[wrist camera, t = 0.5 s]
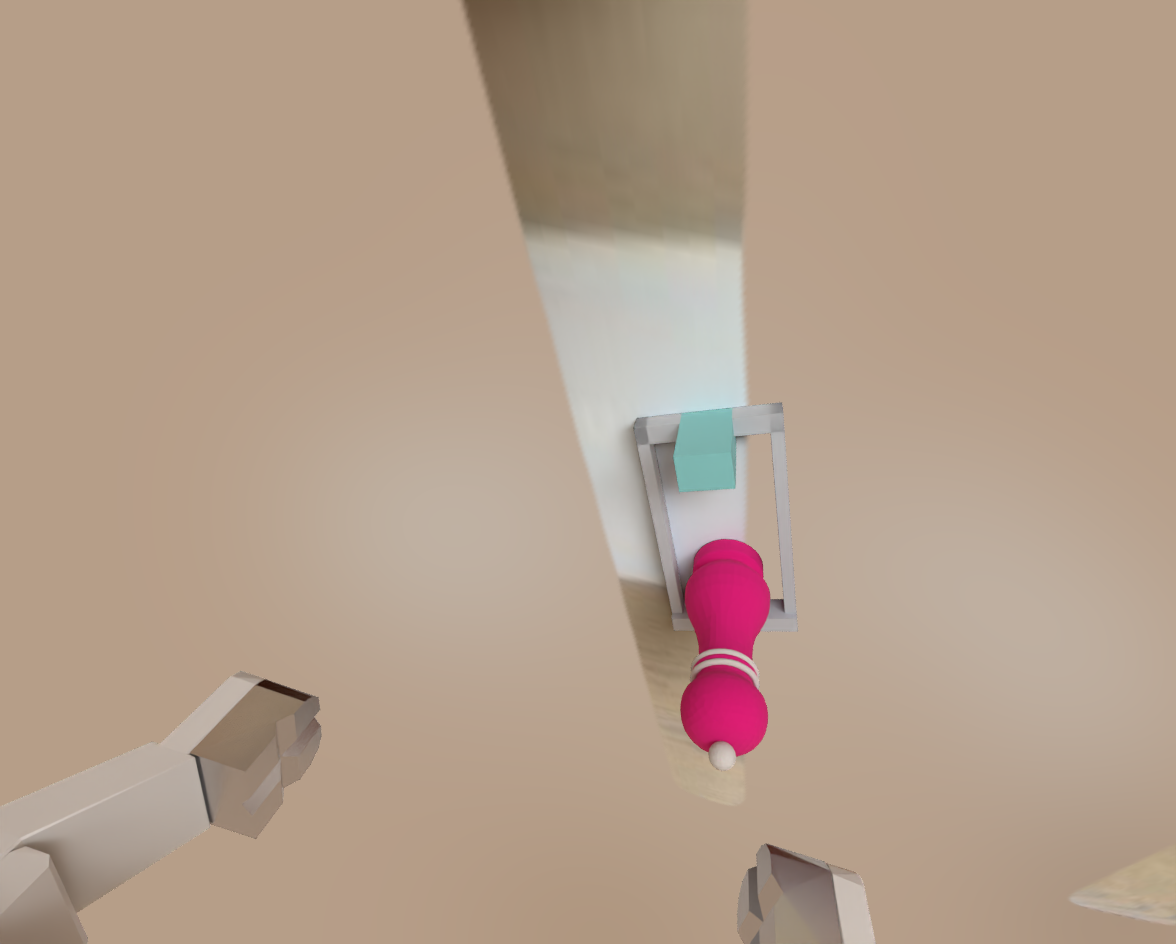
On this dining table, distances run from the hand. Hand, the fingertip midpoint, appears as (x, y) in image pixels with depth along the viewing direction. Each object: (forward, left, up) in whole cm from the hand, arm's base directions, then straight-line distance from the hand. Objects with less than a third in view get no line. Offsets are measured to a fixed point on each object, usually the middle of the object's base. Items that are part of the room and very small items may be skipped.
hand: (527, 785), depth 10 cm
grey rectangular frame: (+22, 0, -37) cm, 43 cm away
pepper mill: (+27, 0, -37) cm, 46 cm away
